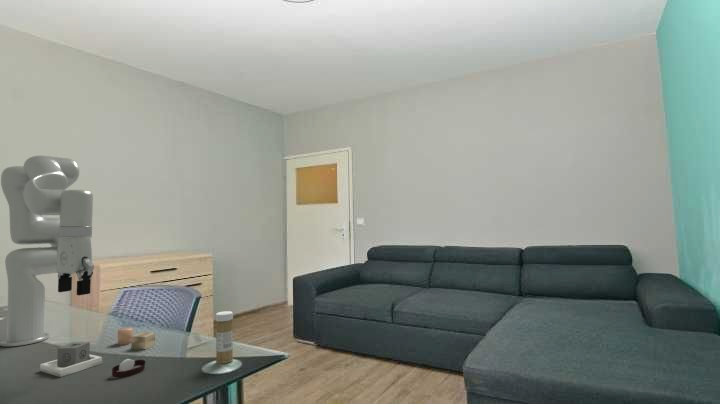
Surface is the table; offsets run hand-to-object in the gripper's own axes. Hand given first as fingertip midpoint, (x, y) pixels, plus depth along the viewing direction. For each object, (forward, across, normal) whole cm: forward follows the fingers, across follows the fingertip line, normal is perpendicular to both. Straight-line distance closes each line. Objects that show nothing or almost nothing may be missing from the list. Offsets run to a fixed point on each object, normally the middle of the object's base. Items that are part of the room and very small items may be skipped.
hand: (73, 292), depth 107 cm
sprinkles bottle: (+19, +40, +18) cm, 48 cm away
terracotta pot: (+20, -4, +18) cm, 27 cm away
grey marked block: (+19, +4, -1) cm, 19 cm away
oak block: (+20, +6, +17) cm, 27 cm away
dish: (+20, +4, -2) cm, 20 cm away
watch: (+20, +23, +2) cm, 30 cm away
